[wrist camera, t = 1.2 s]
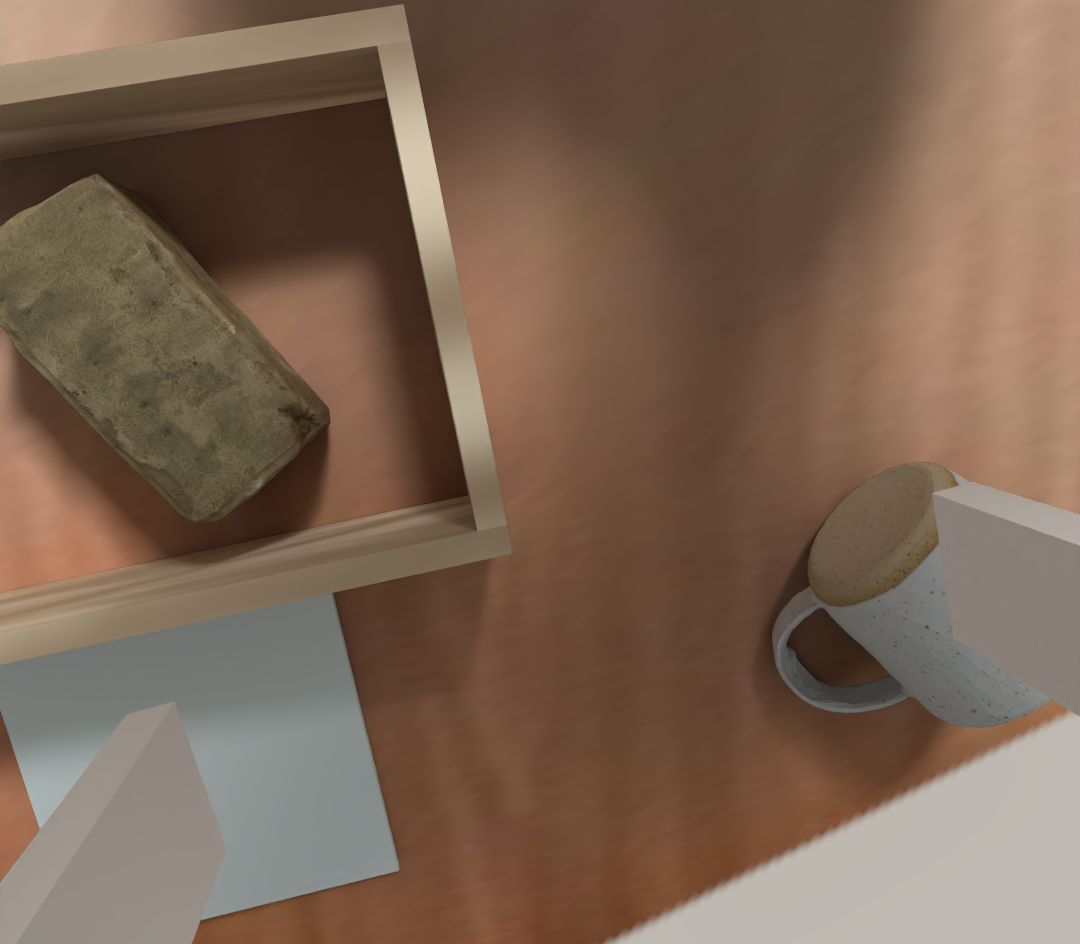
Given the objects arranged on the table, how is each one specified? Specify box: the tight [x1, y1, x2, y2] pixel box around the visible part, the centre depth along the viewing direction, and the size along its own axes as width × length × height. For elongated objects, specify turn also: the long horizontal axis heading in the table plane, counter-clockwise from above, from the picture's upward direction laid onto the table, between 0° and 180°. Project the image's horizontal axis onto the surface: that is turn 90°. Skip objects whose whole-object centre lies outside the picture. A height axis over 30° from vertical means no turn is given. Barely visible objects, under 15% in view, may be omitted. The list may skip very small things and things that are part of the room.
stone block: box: [0, 173, 330, 525], centre depth 29 cm, size 6×12×5 cm, turn 41°
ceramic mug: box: [772, 462, 1052, 728], centre depth 33 cm, size 11×8×8 cm
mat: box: [0, 593, 399, 920], centre depth 34 cm, size 13×13×1 cm
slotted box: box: [0, 4, 513, 665], centre depth 29 cm, size 17×21×6 cm
